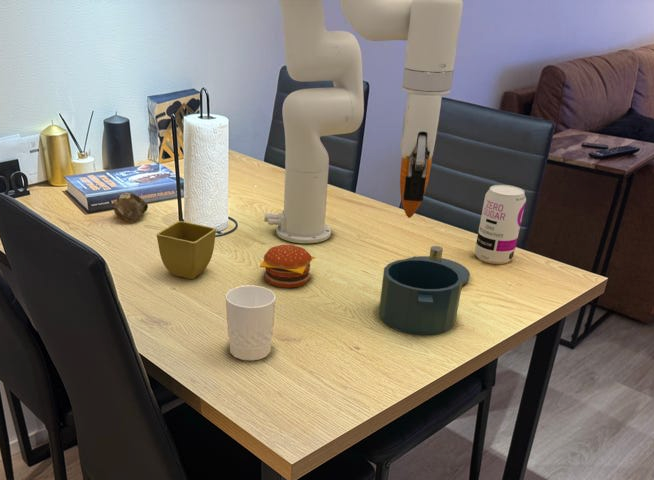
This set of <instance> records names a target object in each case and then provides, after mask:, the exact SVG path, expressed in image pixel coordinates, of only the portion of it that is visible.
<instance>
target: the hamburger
mask: <svg viewBox="0 0 654 480" xmlns="http://www.w3.org/2000/svg"><path fill="white" fill-rule="evenodd" d="M314 259H316V256H313V255H311V254H310V253H309V252H308V251H307V249H306V248H304V247H302V246H300V245H299V246H298V245H295V244H279V245H275V246H273V247H270V248H269V249H268V250H267V251H266V252H265V253H264V255H263V259H262V261H261V263H260V265H259V268H264V269H265V272H264V275H263V276H264V279H265V280H266V282H267V283H268V284H270V285H271V286H273V287H278V288H284V289H285V288H286V289H292V288H299V287H302V286H305V285H307V283H309V282H310V278H311V276H310V275H311V274H310V271H311V262H312V261H313V260H314Z"/></svg>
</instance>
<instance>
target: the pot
mask: <svg viewBox="0 0 654 480" xmlns="http://www.w3.org/2000/svg"><path fill="white" fill-rule="evenodd" d="M412 257H413V259H407V258H403V259H398V260H394V261H392V262H390V263H388V264H387V265H386V266H384V268H383V274H382V282H381V291H380V299H379V308H378V309H379V310H378V315H379V319H380V320H381V321H382V322H383V323H384V324H385V325H386V326H388V327H390V328H391V329H394V330H397V331H399V332H401V333H405V334H408V335H409V334H410V335H416V336H432V335H439V334H444V333H446V332H448V331H450V330H451V329H452V328H453V327H454V325H455V322H456V320H457V315H458V309H459V304H460V300H461V299H460V298H461V294H462V288H463V285H464V284H463V277H462V274H461V273H460V272H459V271H458V270H456V269H455V268H453V267H451V266H449V265H447V264H444V263H440V262H437V261H433V260H426V257H419V256H415V255H414V256H412ZM462 284H463V285H462Z"/></svg>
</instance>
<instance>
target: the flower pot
mask: <svg viewBox="0 0 654 480" xmlns="http://www.w3.org/2000/svg"><path fill="white" fill-rule="evenodd" d="M216 233H217V228H215V227H211V226H207V225H203V224H198V223H193V222H188V221H182V220H178V221H176V222H174V223H172V224H171V225H169V226H168V227H166V228H164V229H162V230H160V231H159V232H157V233H156V239H157V245H158V250H159V255H160V259H161V261H162V264H163V265H164V267H165V269H166V270H167V271H168V273H170V275H173V276H176V277H180V278H185V279H189V280H194V279H195V278H197V277H198V276H199V275H201V274H202V273H203V272H205V270H206V269H207V267H208V266H209V264H210V262H211V259H212V257H213V255H214V254H213V253H214V249H215V241H216Z"/></svg>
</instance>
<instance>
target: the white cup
mask: <svg viewBox="0 0 654 480" xmlns="http://www.w3.org/2000/svg"><path fill="white" fill-rule="evenodd" d="M276 299H277V296H276V293H275V292H274V291H273V290H271V289H269V288H268V287H264V286H258V285H248V284H247V285H239V286H236V287H233V288H231V289H229V290H228V291H227V292H226V293H225V309H226V323H227V337H228V341H229V353H230V354H231V355H232V356H233V357H234V358H237V359H239V360H242V361H250V362H252V361H259V360H262V359H264V358H267V357H268V355H269V354H270V353H271V348H272V338H273V333H274V323H275V310H276Z"/></svg>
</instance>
